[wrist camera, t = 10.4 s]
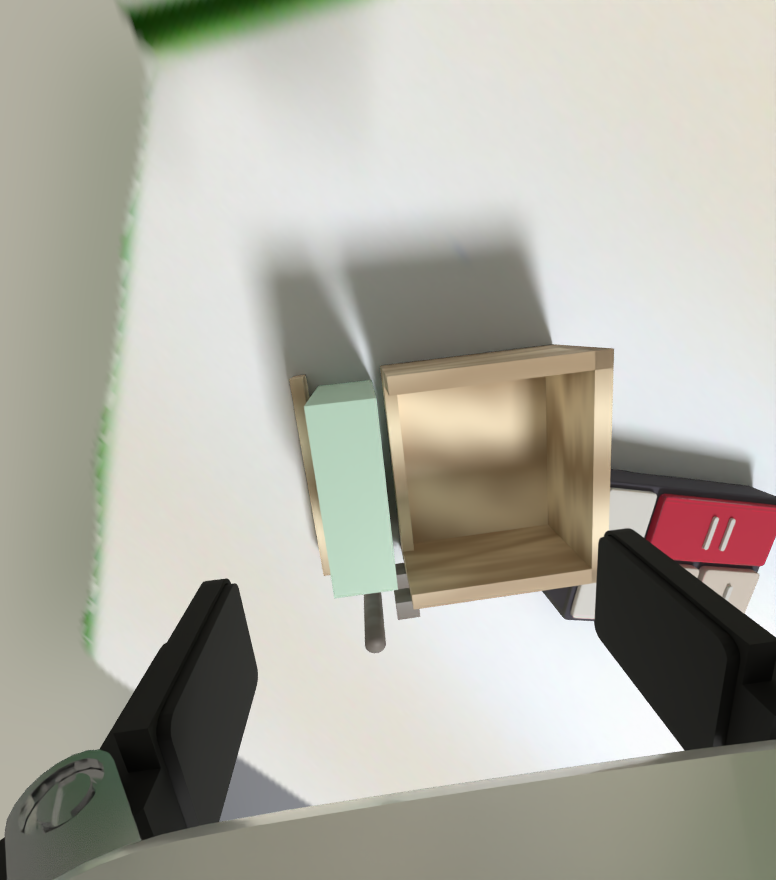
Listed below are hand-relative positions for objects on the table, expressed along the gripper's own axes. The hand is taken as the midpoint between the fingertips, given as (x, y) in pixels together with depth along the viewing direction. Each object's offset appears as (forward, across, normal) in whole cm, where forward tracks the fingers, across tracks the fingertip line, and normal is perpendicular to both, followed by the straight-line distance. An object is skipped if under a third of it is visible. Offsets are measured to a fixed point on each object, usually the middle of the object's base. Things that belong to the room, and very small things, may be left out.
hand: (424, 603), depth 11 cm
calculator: (+20, -20, +12) cm, 30 cm away
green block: (+19, +2, +2) cm, 20 cm away
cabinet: (+19, -4, +4) cm, 20 cm away
